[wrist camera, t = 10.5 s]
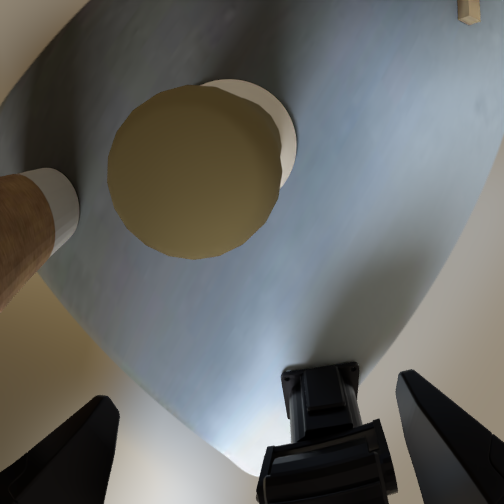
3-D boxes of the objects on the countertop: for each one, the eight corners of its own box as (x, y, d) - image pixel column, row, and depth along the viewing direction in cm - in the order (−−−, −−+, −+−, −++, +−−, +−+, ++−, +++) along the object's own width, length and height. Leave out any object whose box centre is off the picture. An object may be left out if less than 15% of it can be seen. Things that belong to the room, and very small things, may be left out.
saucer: (304, 199, 19) (305, 201, 19) (178, 219, 20) (176, 221, 20) (283, 70, 16) (284, 68, 16) (151, 97, 17) (149, 97, 16)
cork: (302, 135, 17) (353, 154, 7) (242, 216, 19) (216, 327, 9) (215, 77, 16) (145, 24, 6) (160, 162, 18) (49, 216, 8)
